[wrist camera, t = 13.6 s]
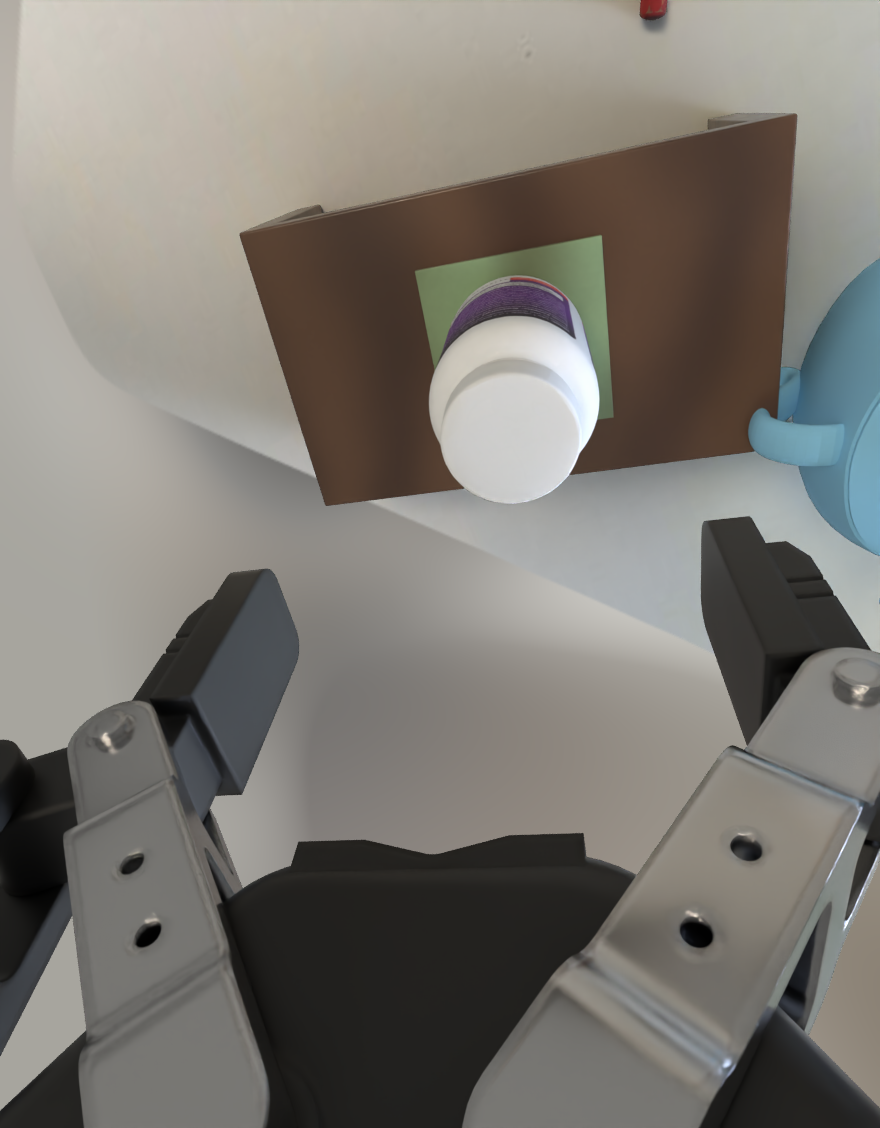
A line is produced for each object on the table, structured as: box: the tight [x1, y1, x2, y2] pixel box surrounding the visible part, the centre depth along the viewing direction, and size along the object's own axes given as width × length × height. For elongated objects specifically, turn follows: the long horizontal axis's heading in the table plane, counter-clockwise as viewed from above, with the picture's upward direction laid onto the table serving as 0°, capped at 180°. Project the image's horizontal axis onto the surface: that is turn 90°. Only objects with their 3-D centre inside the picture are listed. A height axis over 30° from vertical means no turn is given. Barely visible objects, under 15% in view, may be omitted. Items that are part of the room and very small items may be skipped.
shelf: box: [240, 113, 797, 506], centre depth 31 cm, size 20×12×8 cm, turn 101°
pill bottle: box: [429, 275, 599, 504], centre depth 23 cm, size 5×5×10 cm
